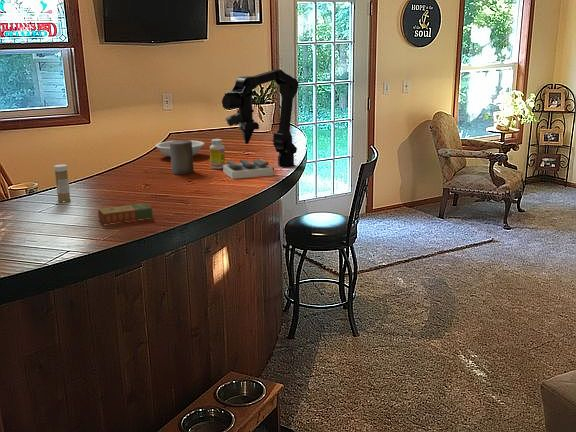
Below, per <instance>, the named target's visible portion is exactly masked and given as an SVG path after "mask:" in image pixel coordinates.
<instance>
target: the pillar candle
mask: <svg viewBox="0 0 576 432" xmlns="http://www.w3.org/2000/svg"><path fill="white" fill-rule="evenodd" d="M171 141H172V142H170V153H171V157H170V166H171V172H172V174H173V175H179V176H180V175H188V174H193V173H194V172H195V171H194V159H193V157H194V155H193V153H192V141H190V139H189V140H188V139H186V140H183V139H180V140H179V139H178V140H171Z"/></svg>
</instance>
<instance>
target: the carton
mask: <svg viewBox="0 0 576 432" xmlns="http://www.w3.org/2000/svg"><path fill="white" fill-rule="evenodd" d="M153 213H154V212H153V208H152V207H151V206H150V205H148V204H147V203H145V202H143V203H137V204H135V203H134V204H129V205H122V206H113V207H112V206H111V207H106V208H98V220H99V219H100V220H101V221H100V220H99V221H100V223H101V224H102V223H103V224H110V223H117V222H125V221H131V220H138V219H146V218H153V219H154V214H153ZM103 224H102V225H103Z"/></svg>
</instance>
